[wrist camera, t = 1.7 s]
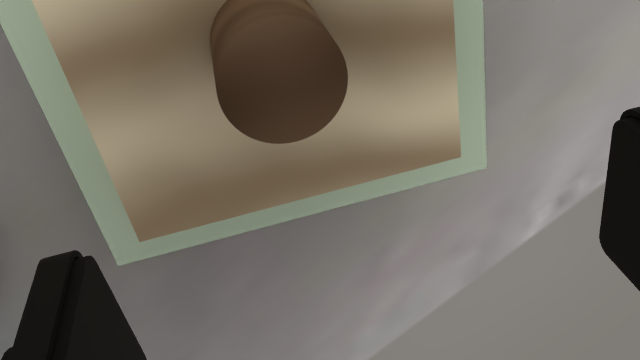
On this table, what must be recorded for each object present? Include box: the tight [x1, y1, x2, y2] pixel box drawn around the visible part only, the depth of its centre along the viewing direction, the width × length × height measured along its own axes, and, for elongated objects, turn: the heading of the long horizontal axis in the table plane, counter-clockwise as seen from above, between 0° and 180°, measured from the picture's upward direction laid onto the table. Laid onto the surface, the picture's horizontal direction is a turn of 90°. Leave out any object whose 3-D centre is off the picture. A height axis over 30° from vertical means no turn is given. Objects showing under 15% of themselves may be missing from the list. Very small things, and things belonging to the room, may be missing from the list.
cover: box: [32, 0, 461, 242], centre depth 20 cm, size 14×14×5 cm
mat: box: [0, 0, 487, 266], centre depth 22 cm, size 17×17×1 cm
